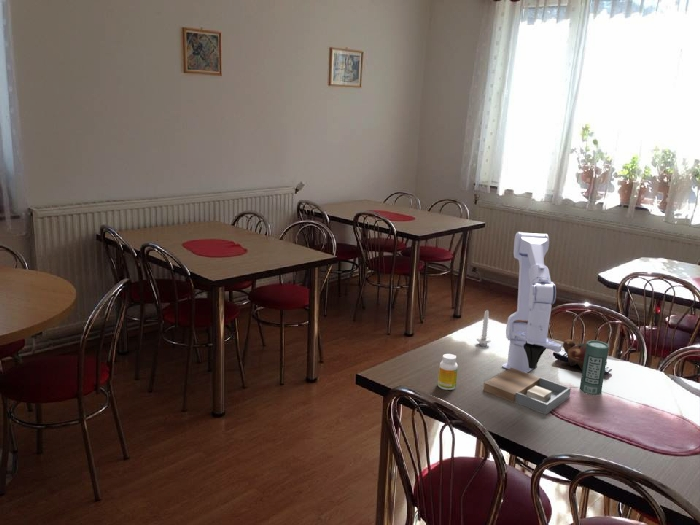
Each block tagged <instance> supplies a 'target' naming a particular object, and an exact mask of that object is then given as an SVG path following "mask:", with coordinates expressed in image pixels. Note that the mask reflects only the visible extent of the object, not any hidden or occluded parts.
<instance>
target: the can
mask: <svg viewBox="0 0 700 525" xmlns="http://www.w3.org/2000/svg"><path fill="white" fill-rule="evenodd" d="M586 344H587V345H586V352H585V358H584V364H583V370H582V369H581V370H582V372H581V379H580V382H579V383H580V385H579V390H580V391H581V393H583V392H584V393H583V394H586V393H587V395H590V396H598V395H599V396H600V395H601V394H602V390H603V383H604V379H605V373H606V372H605V371H606V367H607V364H606V361H607V360H608V359H607V358H608V355H609V350H610V349H609V348H610V344H608V343H607V342H603V341H600V340H594V339H593V340H587V341H586Z"/></svg>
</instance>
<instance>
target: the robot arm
mask: <svg viewBox="0 0 700 525" xmlns="http://www.w3.org/2000/svg"><path fill="white" fill-rule="evenodd" d="M549 237H550V236H549V235H548V234H547V233H537V232H535V233H532V232H522V231H517V232H516V234H515V235H514V242H513V258H514V259H516V260H518V265H519V266H518V267H519V272H518V288H517V289H518V290H517V303H516V304H517V307H516V309H517V310H516V311H515V312H514V313H512V314H510V315H509V316H508V317H507V322H506V328H505V329H506V330H505V334H506V335H505V336H506V337H505V338H506V339H507V341H509V346H508V353H507V362H505V363H504V364H502V365H501V367H502V368H504V369H506V370H508V369H510V368H514V369H516V370H519V371H522V372H525V373H529V372H530V371H532V370H534V369H535V368H537V367H538V362H539V361H540V360H541V359H540V358H541V357H542V355H543V354H544V353H545V351H546V349H547V350H550V351H553V352H554V353H557V354H558V353H560V352H562V347H563V344H560V343H558V342H556V341H553V340H551V339H549V338H548V335H549V334H548V333H549V327H550V320H551V312H552V305H554V304H555V302H556V297H557V288H556V284H555V283H554V281H552V280H551V274H550V270H549V268H548V266H547V265H546V264H545V260H544V258H545V256H546V254H547V252H548V251H549V246H550V238H549ZM524 321H525V322H524Z"/></svg>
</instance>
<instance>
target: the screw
mask: <svg viewBox="0 0 700 525" xmlns="http://www.w3.org/2000/svg"><path fill="white" fill-rule="evenodd" d="M489 313H490V312H489V310H488V309H486V310H485V311H484V316H483V320H482V329H481V331H482V332H481V335H480V336H478V337H476V341H477V342H478V345H479V346H480V347H487V346H488V343H491V342H492V341H491V338H490V337H488V336H487V335H488V329H489V320H490V319H489V318H490V317H489Z"/></svg>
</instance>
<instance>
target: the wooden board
mask: <svg viewBox="0 0 700 525" xmlns="http://www.w3.org/2000/svg"><path fill="white" fill-rule="evenodd" d="M539 378H540V377H539V376H535V375H533V374H530V373H529V372H527V373H525V372H522V371H519V370H516V369H514V368H510V369H506V370H505V371H502V372H500V373H498V374H497V375H496V376H494V377H491V378H490V379H489V380H487V381H484V384H483V391H484V392H486V393H488V394H492V395H493V396H497V397H499V398H502V399H504V400H506V401H509V402H511V403H516V402H515V395H516V392H518V393H521V394H523V395H525V394H526V393H527V391H528V390H529V389H531V388H533V387H534V386H538V385H539Z"/></svg>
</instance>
